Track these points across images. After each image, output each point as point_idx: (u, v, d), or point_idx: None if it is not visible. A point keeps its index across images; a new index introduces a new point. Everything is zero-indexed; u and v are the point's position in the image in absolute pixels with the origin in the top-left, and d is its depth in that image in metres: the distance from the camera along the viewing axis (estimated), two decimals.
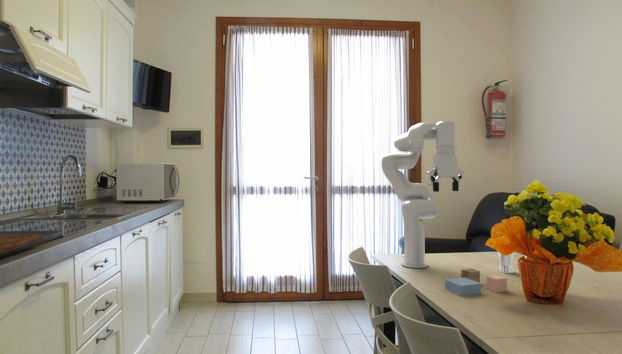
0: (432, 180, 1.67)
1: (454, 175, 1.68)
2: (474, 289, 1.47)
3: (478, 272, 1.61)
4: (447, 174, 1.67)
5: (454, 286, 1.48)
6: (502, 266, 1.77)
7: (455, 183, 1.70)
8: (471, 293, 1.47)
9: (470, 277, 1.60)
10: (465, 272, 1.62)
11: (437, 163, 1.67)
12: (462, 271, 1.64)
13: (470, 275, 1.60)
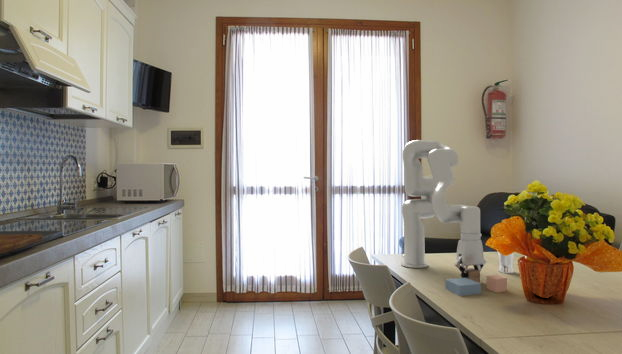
0: (461, 270, 1.61)
1: (479, 262, 1.62)
2: (473, 290, 1.47)
3: (478, 272, 1.61)
4: (472, 262, 1.60)
5: (454, 286, 1.49)
6: (502, 266, 1.77)
7: None
8: (470, 293, 1.47)
9: (470, 277, 1.60)
10: None
11: (462, 251, 1.60)
12: None
13: (470, 275, 1.60)
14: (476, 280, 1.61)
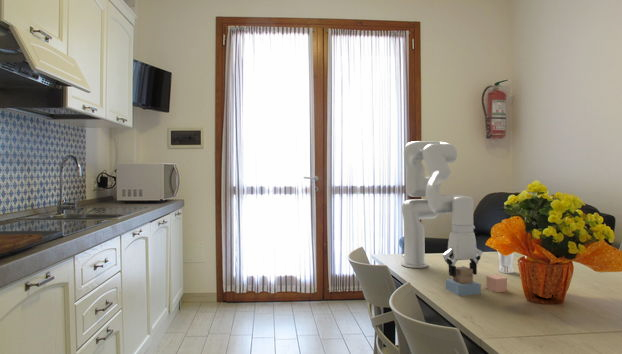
0: (448, 263, 1.49)
1: (472, 257, 1.50)
2: (473, 290, 1.47)
3: (471, 270, 1.49)
4: (465, 256, 1.48)
5: (453, 286, 1.49)
6: (502, 266, 1.77)
7: (473, 265, 1.52)
8: (470, 293, 1.46)
9: (462, 276, 1.48)
10: (456, 270, 1.50)
11: (453, 244, 1.48)
12: None
13: (462, 274, 1.48)
14: (468, 279, 1.49)
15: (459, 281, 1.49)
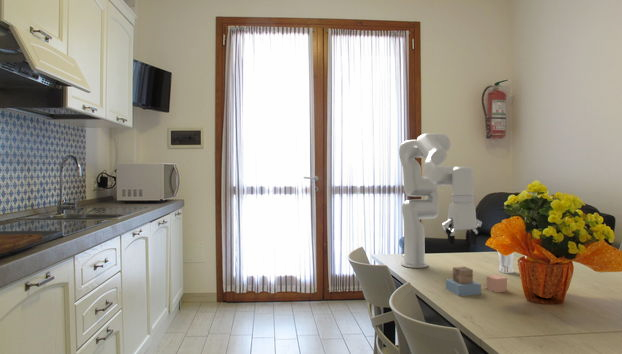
0: (447, 233, 1.49)
1: (472, 227, 1.50)
2: (473, 290, 1.47)
3: (471, 271, 1.49)
4: (464, 227, 1.49)
5: (453, 286, 1.49)
6: (502, 266, 1.77)
7: (472, 235, 1.52)
8: (470, 293, 1.46)
9: (461, 276, 1.48)
10: (456, 270, 1.50)
11: (453, 214, 1.48)
12: (454, 269, 1.52)
13: (461, 274, 1.48)
14: (468, 280, 1.48)
15: (458, 281, 1.49)
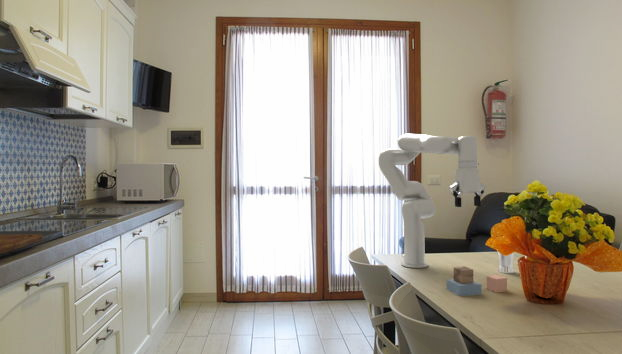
0: (454, 195, 1.66)
1: (476, 190, 1.67)
2: (474, 290, 1.46)
3: (471, 271, 1.49)
4: (469, 189, 1.66)
5: (454, 286, 1.49)
6: (502, 266, 1.77)
7: (477, 198, 1.69)
8: (470, 294, 1.46)
9: (462, 276, 1.48)
10: (457, 270, 1.50)
11: (459, 178, 1.65)
12: (454, 269, 1.52)
13: (462, 274, 1.48)
14: (469, 279, 1.49)
15: (459, 281, 1.49)
